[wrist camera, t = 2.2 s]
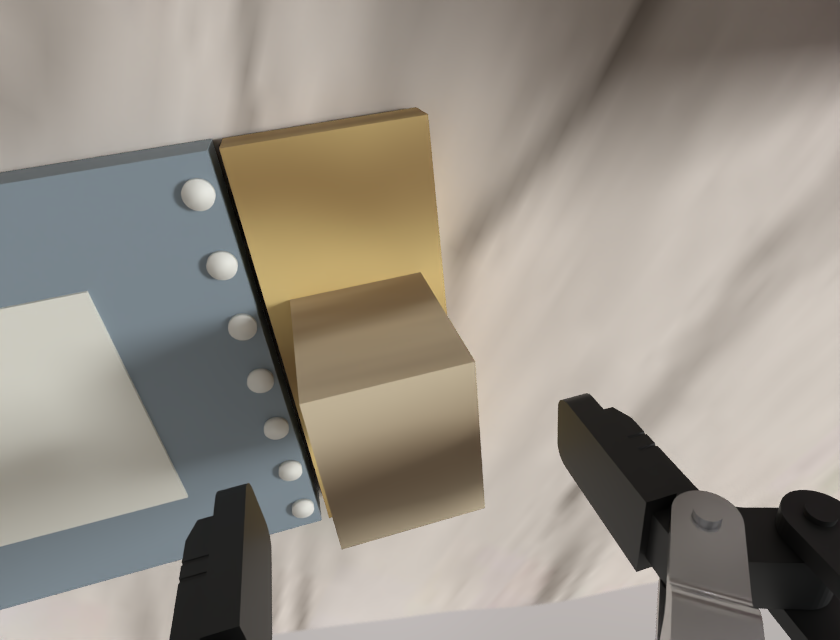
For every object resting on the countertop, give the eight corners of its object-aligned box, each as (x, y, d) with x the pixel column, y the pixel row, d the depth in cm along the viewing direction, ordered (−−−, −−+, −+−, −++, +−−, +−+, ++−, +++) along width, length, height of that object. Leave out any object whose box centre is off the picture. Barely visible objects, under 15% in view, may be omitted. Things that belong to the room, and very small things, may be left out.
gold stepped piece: (222, 138, 14) (198, 210, 9) (416, 106, 15) (497, 157, 10) (326, 492, 22) (346, 647, 16) (452, 458, 22) (511, 594, 17)
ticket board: (-311, 222, 13) (-384, 249, 11) (211, 138, 14) (205, 152, 13) (-3, 577, 20) (-23, 620, 18) (318, 490, 22) (322, 524, 20)
